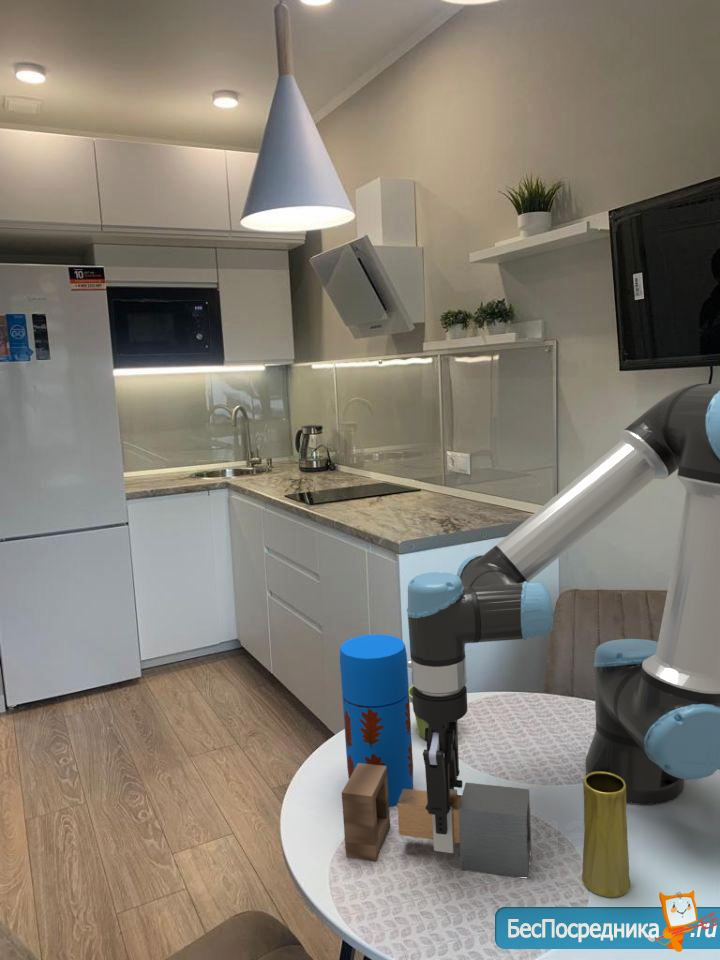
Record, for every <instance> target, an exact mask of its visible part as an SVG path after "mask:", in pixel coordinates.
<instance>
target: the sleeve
mask: <svg viewBox="0 0 720 960" xmlns="http://www.w3.org/2000/svg"><path fill="white" fill-rule="evenodd" d="M461 795H462V797H461V801H460V804H459V808H458V811H459V832H460V843H459V850H460V852H459V853H460V869H461V871H468V872H474V873H481V874H489V875H497V876H502V877H509V876H510V878H516V877H528V878H529V874H528V872H530V865H529V862H530V863H531V856H530V853H531V854H532V832H531V829H532V828H531V827H532V826H531V799H530V798H531V797H530V796H531V795H530V789H529V788H520V787H512V786H511V787H510V786H503V785H502V786H501V785H492V784H485V783H484V784H483V783H475V782H465V783H464V786H463V790H462V794H461ZM527 828H528V837H527Z"/></svg>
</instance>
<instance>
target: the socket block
mask: <svg viewBox="0 0 720 960" xmlns="http://www.w3.org/2000/svg"><path fill="white" fill-rule="evenodd" d="M341 802H342V804H341V805H342V806H341V807H342V816H343V817H342V818H343V829H344V830H343V832H344V834H343V835H344V845H345V846H344V847H345V858H352V859H358V860H365V861H372V862H377V860H378V858H379V855H380V853H381V852H382V851H381V850H382V848H383V846H384V843H385V841H386V838H387V836H388V834H389V831H390V828H391V815H390V807H389V796H388V780H387V766H382V765H372V764H363V763H358V764H357V766H356V768H355V769H354V771H353V773H352V775H351V777H350V778H349V777H348V781H347V782H346V784H345V786H344V787H343V789H342V791H341Z"/></svg>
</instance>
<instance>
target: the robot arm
mask: <svg viewBox="0 0 720 960" xmlns="http://www.w3.org/2000/svg"><path fill="white" fill-rule="evenodd" d="M676 471H677V475H676V476H677V477H676V478H677V479H678V480H679V482H680V484H682V486H683V487H684V488H685V491H686V492H685V497H684V503H683V506H682V507H683V508H682V513H681V518H680V523H679V529H678V534H677V538H676V544H675V549H674V555H673V560H672V566H671V571H670V576H669V582H668V587H667V592H666V599H665V602H664V609H663V613H662V618H661V619H662V620H661V625H660V630H659V635H658V640H657V641H655V640H650V639H643V638H642V639H641V638H624V639H623V638H622V639H621V638H620V639H613V640H608V641H605V642H603V643H601V644H599V645H598V646H597V647H596V649H595V652H594V663H593V668H594V703H595V704H594V706H595V711H594V712H595V732H594V734H593V736H592V740H591V743H590V746H589V747H588V748H589V749H588V752H587V753H586V757H585V763H584V764H585V776H586V775H587V774H589V773H592V772H597V771H603V772H609V773H613V774H615V775H617V776H619V777H621V778H622V779H623V780H624V781H625V784H626V804H627V803H628V804H635V805H646V806H647V805H660V804H664V803H668V802H671V801H674V800H675V799H676V798H678V797H679V796H680V795H681V794H682V793H683V791H684V788H685V780H699V779H703V778H707V777H710V776H712V775H713V774H714V773H716V771H719V770H720V383H718V384H717V383H714V384H713V383H707V382H706V383H695V384H690V385H687V386H684V387H680V388H679V389H677V390H675V391H673V392H671V393H669V394H668V395H666V396H665V397H664V398H662V399H661V400H660V401H657V402H656V403H655V404H654V405H652V406H651V407H650V408H649V409H648V410H646V411H645V412H644V413H642V414H641V415H640V416H639V417H638V418H636V419H635V420H634V421H633V422H632V423H630V424H629V425H628V426H627V427H625V429H623V430H622V431H621V432H620V436H619V442H618V443H617V444H616V445H614V446H613V447H612V448H611V449H610V450H609V451H607V452H606V453H605V454H604V455H602V456H601V457H600V458H599V459H598V460H597V461H595V462H594V463H593V464H591V466H589V467H588V468H586V470H584V471H583V472H582V473H581V474H580V475H578V476H577V477H576V478H575V479H574V480H572V482H570V483H569V484H568V485H566V486H565V487H564V488H563V489H561V490H560V491H559V492H558V493H557V494H556V495H554V496H553V497H552V498H551V499H550V500H549V501H547V502H546V503H545V504H544V505H542V507H540V508H539V509H538V510H537V511H535V512H534V513H533V514H532V515H530V516H529V517H528V518H527V519H526V520H524V522H522V523H521V524H520V525H518V527H516V528H515V529H514V530H513V531H511V532H510V533H509V534H508V535H507V536H506V537H504V538H503V539H502V540H501V541H500V542H498V543H497V544H496V545H494V546H493V547H492V548H491V549H489V550H488V551H487V552H485V554H475V555H474V554H473V555H471V556H469V557H467V558H466V559H465V560H464V561H462V562H461V564H460V565H459V568H458V569H457V572H456V573H457V574H455V573H452V572H438V571H436V572H435V571H434V572H433V571H432V572H425V573H421V574H419V575H416V576H415V577H413V578H411V580H410V581H409V583H408V584H407V609H406V612H407V613H406V614H407V623H408V637H409V652H410V660H407V668H411V683H412V685H413V686H414V687H413V689H412V696H413V704H412V710H413V713H414V716H415V715H416V716H417V717H418V718H420V719H422V720H424V721H425V722H427V723H428V725H429V726H428V728H425V739H424V740H425V741H424V742H426V748H425V749H424V750H423V751H422V757H423V762H424V768H425V770H424V771H425V784H426V785H425V786H426V791H427V801H428V803H427V805H426V810H428V813H429V814H432V821H433V851H434V852H442V853H450V854H454V852H455V842H454V837H453V817H452V807H450V794H455V795H458V789H455V788H459V789H462V787H463V780H461V779H458V777H459V776H460V765H459V764H460V763H459V759H460V758H459V739H458V738H459V733H458V732H459V731H458V730H459V729H458V727H459V726H458V721H459V720H460V719H462V718H463V717H464V716H465V715H466V714H467V712H468V691H467V690H468V689H467V686H466V685H467V681H468V679H467V662H466V661H467V659H466V650H465V649H466V645H467V644H477V643H487V642H501V641H513V640H514V641H516V640H524V641H526V640H528V639H533V638H534V639H535V638H540V637H545V636H547V635H549V634H550V633H551V631H552V629H553V626H554V620H555V619H554V605H553V600H552V596H551V593H550V591H549V589H548V587H547V586H546V585H545V584H544V583H542V582H541V581H540V582H539V581H537V582H534V581H532V580H533V579H534V578H536V577H537V576H538V575H539V574H540V573H541V572H542V571H544V570H545V569H546V568H548V567H549V566H550V565H551V564H552V563H554V562H555V561H556V560H558V559H559V558H560V557H561V556H563V554H565V553H566V552H567V551H569V549H571V548H572V547H573V546H574V545H575V544H577V543H578V542H580V540H582V539H583V538H584V537H585V536H586V535H588V534H590V533H591V531H593V530H594V529H595V528H596V527H598V526H599V525H600V524H601V523H603V522H604V521H606V519H608V518H609V517H610V516H611V515H613V513H615V512H616V511H617V510H618V509H619V508H621V507H622V506H624V505H625V504H626V503H627V502H628V501H629V500H631V499H632V498H633V497H634V496H636V494H638V493H639V492H640V491H641V490H643V489H644V488H645V487H647V486H648V485H649V484H650V483H651V482H652V481H654V480H656V479H657V480H666V479H667V478H668V477H669V476H671V475H673V473H674V472H676ZM530 581H531V582H530Z"/></svg>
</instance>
